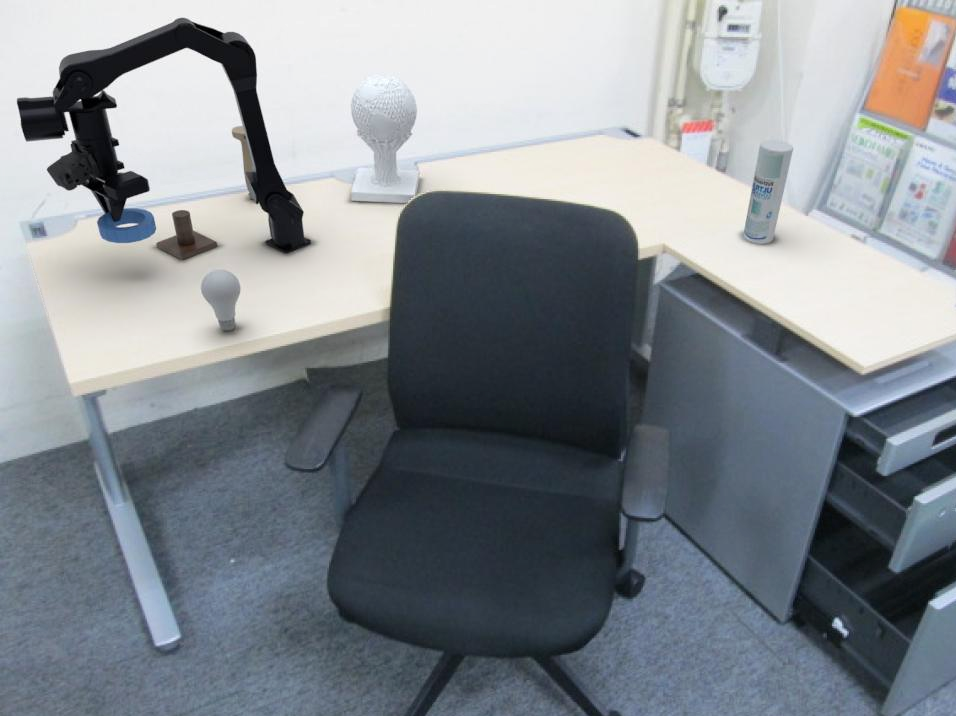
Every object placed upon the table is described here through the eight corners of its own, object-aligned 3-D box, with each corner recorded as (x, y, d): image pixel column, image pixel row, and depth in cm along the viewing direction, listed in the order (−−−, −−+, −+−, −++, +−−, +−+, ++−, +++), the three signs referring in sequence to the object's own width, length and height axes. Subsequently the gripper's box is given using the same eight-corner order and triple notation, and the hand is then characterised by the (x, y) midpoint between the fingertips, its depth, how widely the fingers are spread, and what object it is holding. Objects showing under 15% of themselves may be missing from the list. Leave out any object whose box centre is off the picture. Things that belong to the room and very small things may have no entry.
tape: (166, 230, 164) (164, 218, 163) (121, 248, 158) (118, 235, 156) (134, 215, 168) (132, 203, 167) (89, 232, 162) (86, 219, 160)
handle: (270, 202, 196) (260, 134, 187) (239, 201, 195) (229, 133, 187) (274, 194, 200) (266, 126, 191) (245, 192, 199) (234, 125, 191)
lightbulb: (213, 320, 156) (202, 262, 149) (250, 320, 156) (240, 262, 150) (205, 339, 151) (194, 280, 144) (243, 339, 151) (233, 280, 145)
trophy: (420, 179, 210) (418, 68, 196) (416, 203, 199) (413, 88, 184) (358, 176, 209) (351, 65, 195) (351, 201, 198) (343, 85, 183)
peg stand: (217, 246, 178) (211, 213, 174) (182, 260, 173) (175, 226, 169) (192, 234, 182) (186, 201, 178) (157, 247, 177) (149, 213, 173)
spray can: (779, 238, 193) (799, 146, 182) (763, 247, 189) (782, 153, 178) (753, 228, 197) (771, 137, 185) (736, 236, 193) (754, 144, 181)
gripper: (17, 132, 154) (43, 218, 163) (79, 161, 145) (102, 250, 154) (79, 117, 161) (100, 200, 170) (141, 143, 153) (160, 229, 162)
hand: (114, 219), depth 164 cm, fingers closed on tape, 1 cm apart
